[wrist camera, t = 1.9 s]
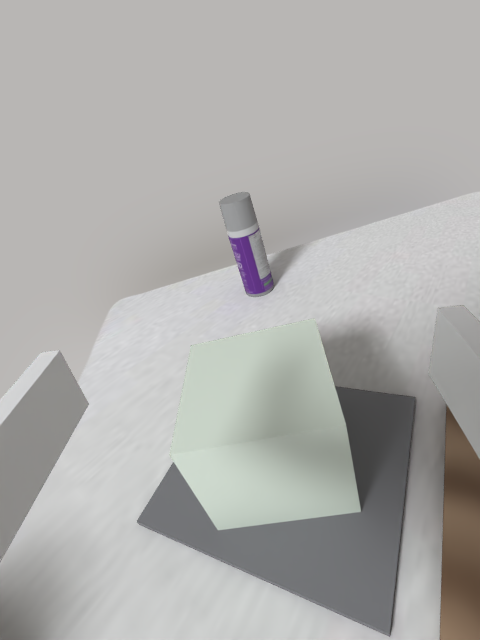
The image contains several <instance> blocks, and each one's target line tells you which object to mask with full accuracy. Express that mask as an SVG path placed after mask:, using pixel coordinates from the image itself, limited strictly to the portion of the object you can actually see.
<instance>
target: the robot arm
mask: <svg viewBox="0 0 480 640" xmlns="http://www.w3.org/2000/svg"><path fill="white" fill-rule="evenodd" d="M429 375H430V377H431V379H432V380H433V382H434V384H435V385H436V387H437V389H438V390H439V392H440V394H441V395H442V397H443V399H444V400H445V402H446V404H447V405H448V407H449V409H450V411H451V412H452V414H453V416H454V417H455V419H456V421H457V422H458V424H459V426H460V427H461V429H462V431H463V432H464V434H465V436H466V437H467V439H468V441H469V442H470V444H471V446H472V447H473V449H474V451H475V452H476V454H477V456H478V457H479V459H480V322H479V321H478V320H477V319H476V318H475V317H474V315H473V314H472V313H471V312H470V311H469V310H468V309H467V308H466V307H465V306H464V305H459V306H451V307H442V308H438V310H437V317H436V324H435V331H434V338H433V345H432V352H431V360H430V367H429ZM88 405H89V403H88V401H87V400H86V398H85V396H84V394H83V392H82V390H81V388H80V387H79V385H78V383H77V381H76V379H75V377H74V376H73V374H72V372H71V370H70V368H69V366H68V364H67V363H66V361H65V359H64V357H63V355H62V353H61V352H60V350H59V351H51V352H41V353H40V354H39V355H38V356H37V358H36V359H35V360H34V361H33V362H32V364H31V365H30V366H29V367H28V368H27V369H26V370H25V372H24V373H23V374H22V375H21V376H20V377H19V379H18V380H17V381H16V382H15V383H14V385H13V386H12V387H11V388H10V389H9V390H8V391H7V392H6V394H5V395H4V396H3V397H2V398H1V400H0V562H1V560H2V558H3V556H4V555H5V553H6V551H7V549H8V547H9V546H10V544H11V542H12V540H13V539H14V537H15V535H16V533H17V531H18V530H19V528H20V526H21V524H22V522H23V521H24V519H25V517H26V515H27V514H28V512H29V510H30V508H31V506H32V505H33V503H34V501H35V499H36V498H37V496H38V494H39V492H40V490H41V489H42V487H43V485H44V483H45V481H46V480H47V478H48V476H49V474H50V473H51V471H52V469H53V467H54V465H55V464H56V462H57V460H58V458H59V457H60V455H61V453H62V451H63V449H64V448H65V446H66V444H67V442H68V441H69V439H70V437H71V435H72V433H73V432H74V430H75V428H76V426H77V424H78V423H79V421H80V419H81V417H82V416H83V414H84V412H85V410H86V408H87V407H88Z"/></svg>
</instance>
